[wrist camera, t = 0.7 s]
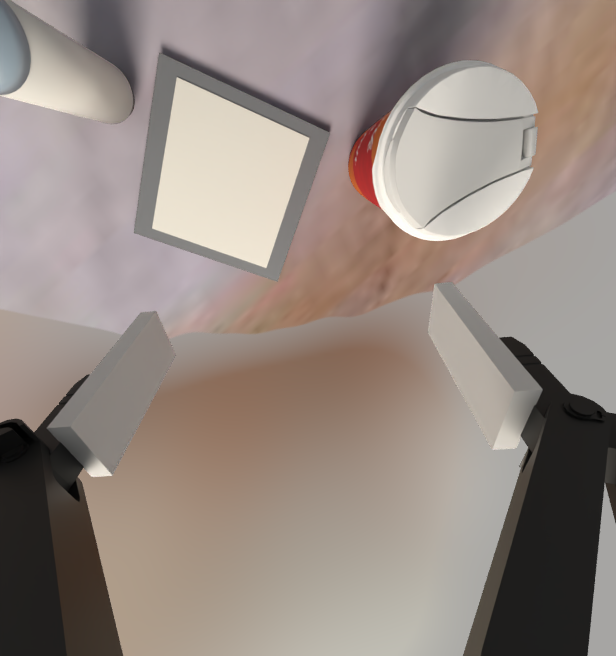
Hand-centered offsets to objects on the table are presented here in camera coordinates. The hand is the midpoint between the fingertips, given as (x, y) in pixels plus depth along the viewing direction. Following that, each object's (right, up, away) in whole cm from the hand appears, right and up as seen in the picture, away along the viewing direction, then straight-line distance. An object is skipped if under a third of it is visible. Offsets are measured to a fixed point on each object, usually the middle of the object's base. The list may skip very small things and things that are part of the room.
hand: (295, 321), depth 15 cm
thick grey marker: (-15, +18, +10) cm, 25 cm away
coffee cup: (+7, +15, +13) cm, 21 cm away
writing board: (-7, +13, +13) cm, 19 cm away
